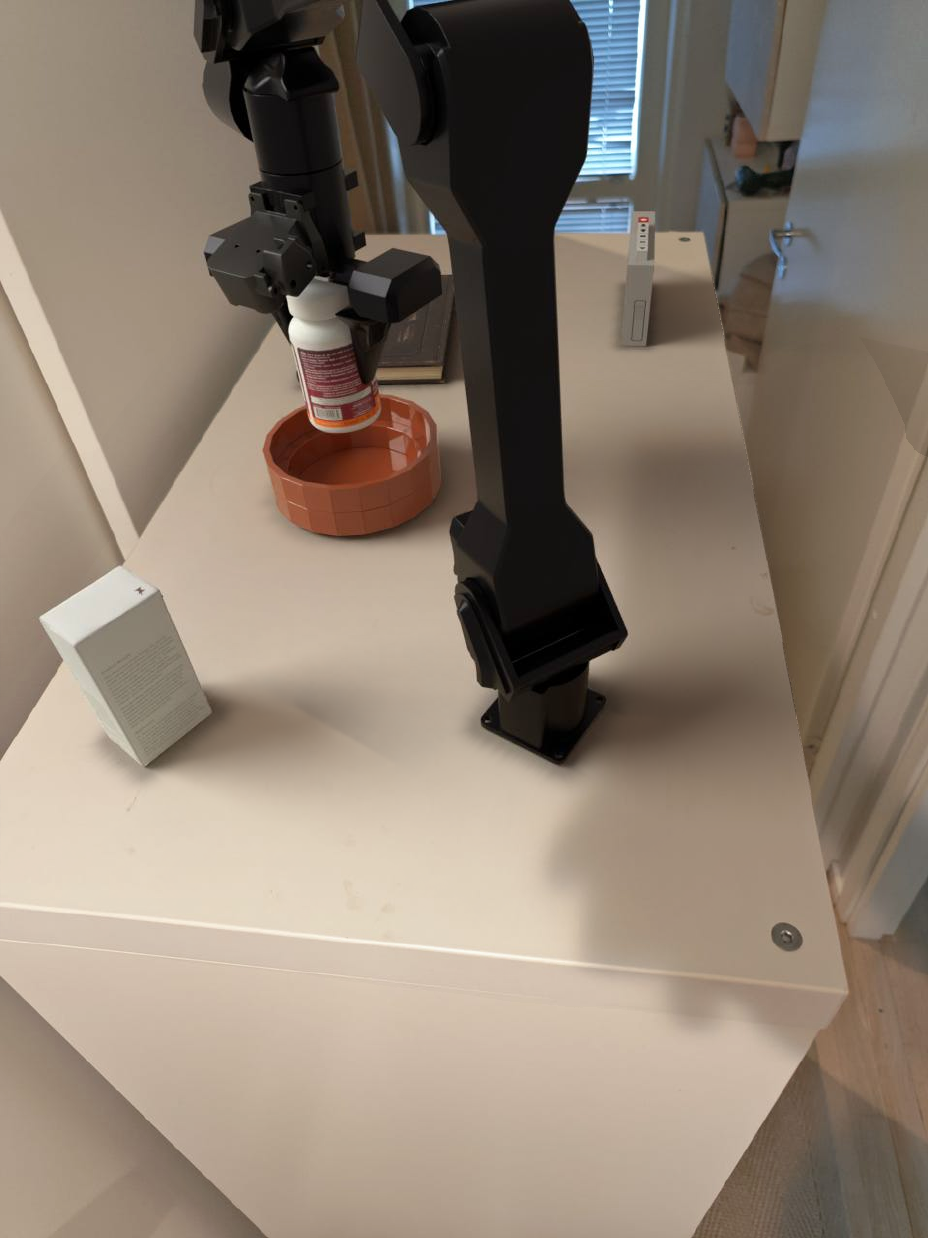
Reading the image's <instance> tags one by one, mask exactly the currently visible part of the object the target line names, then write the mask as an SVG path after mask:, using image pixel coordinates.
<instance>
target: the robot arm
mask: <svg viewBox="0 0 928 1238" xmlns="http://www.w3.org/2000/svg"><path fill="white" fill-rule="evenodd" d="M353 1H354V0H194V10H193V11H194V12H193V14H194V15H193V37H194V40H195V42H196V44H197V47H198V49H199V52H200V54H201V55H202V58H203V60H204V61H206V62H205V65H204V69H203V74H202V75H203V77H202V91H203V95H204V96H203V97H204V99H205V101H206V105H207V106H208V107H209V109H210V111H211V112H212V114H213V115H214V116H215V117H216V118H217V119H218V120H219V121H220V122H221V123H223V124H224V125H226V126H227V127H229V128H230V129H232V130H234V131H235V132H236V133H238V134H239V135H241V136H242V137H243V138H245V139H246V140H248V141H250V142H251V143H253V147H254V151H255V152H254V153H255V157H256V161H257V166H258V173H259V176H260V177H259V178H260V181H258V182H255V183H253V184H251V185H249V192H250V193H248V201H249V206H250V207H249V208H250V216H248V217H246V218H244V219H242V220H240V221H237V222H234V223H233V224H231V225H229V226H226V227H224V228H222V229H220V230H218V231H216V232H214V233H211V234H209V235H208V238H207V240H206V244H205V247H204V249H203V255H204V258H205V259H204V260H205V262H206V263H205V264H206V266H207V267H206V268H207V270H208V274H209V276H210V277H213V278H214V281H215V282H216V283H217V285H218V286H219V288H220V290H221V291H222V293H223V295H224V296H225V298H226V299H227V301H228V303H229V304H230V305H232V306H235V307H239V306H241V307H245V308H248V309H252V310H254V311H255V312H257V313H259V314H263V315H269V314H271V315H272V317H273V319H274V320H275V322H276V323H277V325H278V327H279V328H280V330H281V332H282V333H283V335H284V337H285V338H286V340H287V342H288V344H289V346H290V348H292V346H291V342H290V337H289V324H290V322H291V320H292V318H293V317H294V316H293V315H291V313H290V312H289V308H288V302H287V297H286V296H287V295H288V296H292V297H298V296H299V295H300V294H301V293H302V292H303V291H304V289H305V288H306V287H307V286H308V284H309V283H310V282H311V281H312V280H313V279H317V280H321V281H325V282H331V283H335V284H339V285H343V286H347V291H348V298H349V303H350V305H349V306H347V307H345V308H344V309H342V310H340V311H339V312H337V313H335V316H336V317H337V318H338V319H340V320H341V321H342V322H344V323H345V324H346V325H348V326H349V328H350V333H351V338H352V343H353V349H354V354H355V359H356V364H357V369H358V373H359V376H360V379H361V382H362V384H365V385H367V384H369V383H370V382H371V381H373V379H374V377H375V374H376V371H377V368H378V365H379V362H380V359H381V356H382V353H383V350H384V347H385V344H386V341H387V338H388V335H389V332H390V329H391V327H392V324H393V323H399V322H401V321H403V320H404V319H406V318H407V317H409V316H410V315H412V314H413V313H415V312H416V311H418V310H419V309H421V308H422V307H424V306H425V305H427V304H428V303H430V302H431V301H433V300H434V299H436V298H437V297H439V296H441V295H442V281H441V275H442V271H441V267H440V264H439V263H438V262H437V261H436V260H435V259H434V258H433V257H432V256H431V255H427V254H423V253H418V252H415V251H409V250H406V249H405V250H404V249H400V248H396V247H391V248H390V249H388V250H386V251H384V252H382V253H381V254H379V255H377V256H375V257H374V258H371V259H370V260H367V261H366V260H361V259H357V258H356V252H357V251H359V250H361V249H363V248H365V247H367V241H366V240H367V238H366V231H364V230H359V229H357V228H353V222H352V215H351V209H350V208H351V207H350V201H349V195H348V194H349V193H348V192H349V191H351V190H354V189H356V188H357V187H359V186H360V185H359V178H358V170H356V169H350V168H346V167H345V166H344V159H343V152H342V145H341V138H340V131H339V123H338V117H337V116H338V115H337V110H336V104H335V93H338V92H339V91H340V86H341V85H340V81H339V79H338V77H337V75H336V74H335V73H336V72H335V71H334V70H333V69H332V68H331V67H329V66H328V65H327V64H326V63H325V61H323V60H322V58H321V57H320V55H319V53H318V51H317V49H316V46H322V45H323V44H324V42H325V40H326V37H327V36H328V35H330V33H331V32H333V30H334V29H335V28H337V26H338V25H339V24H341V22H342V21H343V20H344V18H345V16H346V13H345V8H344V5H345V4H347V3H350V2H353ZM359 1H360V13H359V22H358V29H357V30H358V31H357V40H356V49H355V57H354V58H355V63H356V67H357V68H358V70H359V72H360V74H361V75H362V77H363V79H364V81H365V83H366V84H367V86H368V89H369V90H370V92H371V94H372V96H373V98H374V100H375V102H376V103H377V105H378V107H379V109H380V110H381V112H382V115H383V116H384V117H385V120H386V122H387V123H388V126H389V127H390V129H391V130H392V132H393V134H394V135H395V136H396V140H397V145H398V150H399V154H400V159H401V163H402V169H403V173H404V176H405V179H406V180H407V183H409V185H410V186H411V188H412V189H413V190H414V192H415V193H416V194H417V195H418V197H419V198H420V199H421V201H422V202H423V204H424V205H425V206H426V207H427V209H428V211H429V212H430V213H431V214H432V216H433V217H434V218H435V220H436V221H437V222H438V224H439V225H440V226H441V228H442V229H443V230H444V232H445V234H446V237H447V243H448V250H449V259H450V269H451V275H452V277H453V286H454V295H455V304H456V307H455V312H456V319H457V328H458V336H459V346H460V356H461V365H462V372H463V383H464V390H465V399H466V407H467V408H466V409H467V417H468V425H469V433H470V441H471V443H470V445H471V451H472V461H473V468H474V470H473V471H474V478H475V486H476V502H475V504H474V505H473V506H474V507H473V508H472V509H470V510H468V511H465V512H463V513H460V514H458V515H455V516H453V517H452V518H451V521H450V526H449V529H448V535H449V539H450V542H451V548H452V552H453V562H454V563H453V574H454V575H455V576H456V580H457V583H456V584H455V586H454V595H453V599H454V603H455V608H456V615H457V618H458V620H459V623H460V626H461V631H462V635H463V638H464V643H465V646H466V650H467V652H468V654H469V656H470V658H471V659H472V660H473V662H474V665H475V674H476V683H478V684H479V686H480V687H481V688H483V689H485V688H486V689H492V690H493V691H497V697H496V698H495V700H493V702H492V703H491V705H490V706H489V707H488V708H487V709H486V710H485V712H484V713H483V714H482V715H481V717H480V726H481V728H482V729H484V730H486V731H489V732H491V733H492V734H494V735H497V737H500V738H502V739H504V740H506V741H509V742H510V743H512V744H514V745H517V746H518V747H520V748H522V749H524V750H526V751H528V752H530V753H532V754H534V755H536V756H538V757H540V758H542V759H544V760H546V761H548V762H550V763H552V764H554V765H557V766H562V765H564V764H565V763H566V762H567V760H568V759H569V758H570V757H571V755H572V754H573V752H574V751H575V750H576V748H577V746H578V745H579V744H580V742H581V741H582V740H583V738H584V737H585V735H586V734H587V733H588V731H589V730H590V729H591V727H592V726H593V724H594V723H595V721H596V720H597V719H598V718H599V716H600V715H601V713H602V712H603V710H604V709H605V707H606V705H607V697H606V696H605V695H604V694H603V693H600V692H598V691H595V690H593V689H591V688H589V678H590V677H589V676H590V665H591V664H590V663H591V661H593V660H595V659H597V658H599V657H601V656H603V655H605V654H607V653H610V652H611V651H612V652H614V651H617V650H619V649H620V648H621V647H622V646H623V644H624V642H625V641H626V639H627V638H628V636H629V631H628V629H627V626H626V623H625V622H624V620H623V617H622V614H621V612H620V610H619V607H618V605H617V602H616V600H615V598H614V595H613V594H612V591H611V588H610V586H609V584H608V581H607V579H606V576H605V574H604V571H603V570H602V567H601V565H600V563H599V560H598V558H597V556H596V555H597V554H596V546H595V540H594V539H595V538H594V535H593V532H592V531H591V530H590V529H589V528H588V527H587V525H586V524H585V523H584V522H583V521H582V519H581V518H580V517H579V516H578V514H577V513H576V512H575V511H574V510H573V508H572V507H571V506H570V505H569V504H568V502H567V501H566V493H565V473H564V469H565V468H564V449H563V447H564V446H563V423H562V422H563V421H562V419H563V418H562V396H561V372H560V368H561V367H560V345H559V321H558V297H557V295H558V293H557V270H556V269H557V268H556V247H555V245H556V244H555V235H556V226H557V224H558V221H559V219H560V217H561V215H562V213H563V210H564V208H565V206H566V204H567V202H568V200H569V197H570V195H571V193H572V191H573V188H574V186H575V185H576V182H577V181H578V178H579V175H580V173H581V171H582V169H583V167H584V165H585V164H586V163H585V162H586V160H587V157H588V149H589V138H590V124H591V112H592V100H593V87H594V73H595V56H594V50H593V45H592V39H591V36H590V33H589V28H588V26H587V23H585V22H584V21H583V19H582V18H581V16H580V15H579V13H578V11H577V10H576V9H575V7H574V5H573V3H572V1H571V0H445V1H439V2H432V3H426V4H420V5H416V6H414V7H411V8H410V9H407V10H406V11H405V13H404V15H403V16H402V18H401V20H399V18H398V15H396V12H395V11H394V9H393V7H392V5H391V3H390V2H389V0H359ZM487 721H489V722H487ZM558 756H560V757H558Z"/></svg>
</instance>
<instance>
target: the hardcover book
mask: <svg viewBox="0 0 928 1238" xmlns="http://www.w3.org/2000/svg"><path fill="white" fill-rule="evenodd" d="M441 281H442V295H441V296H439V297H437V298H436V299H434V300H433V301H431V302H430V303H428V304H427V305H425V306H424V307H422V308H421V309H419V310H418V311H416V312H415V313H413V314H412V315H410V316H409V317H407V318H406V319H404V320H403V321H401V322H399V323H393V324H392V327H391V329H390V332H389V335H388V338H387V341H386V344H385V347H384V350H383V353H382V356H381V359H380V362H379V365H378V368H377V371H376V376H377V383H378V386H379V385H417V384H419V385H421V384H445V382H446V375H447V368H448V362H449V354H450V347H451V341H452V334H453V325H454V320H455V312H456V304H455V295H454V286H453V277H452V274H441ZM295 373H296V379H297V382H298V383H299V384H300V380H299V375H298V371H297V370H296V371H295Z"/></svg>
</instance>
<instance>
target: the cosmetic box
mask: <svg viewBox="0 0 928 1238" xmlns="http://www.w3.org/2000/svg"><path fill="white" fill-rule="evenodd" d="M38 620H39V621H40V624H41V625H42V627H43V628H44V630H45V632H46V633H47V635H48V637H49V639H50V640H51V642H52V644H53V646H54V647H55V649H56V650H57V652H58V653H59V656H60V657H61V659H62V660H63V662H64V663H65V664H66V667H67V668H68V670H69V672H70V674H71V675H72V677H73V679H74V680H75V682H76V684H77V685H78V687H79V689H80V691H81V693H82V694H83V696H84V697H85V699H86V701H87V702H88V704H89V706H90V707H91V709H92V710H93V712H94V714H95V716H96V717H97V720H98V721H99V722H100V724H101V726H102V728H103V729H104V731H105V733H106V735H107V736H108V738H109V739H110V740H111V741H112V742H113V743H115V744H116V745H117V746H118V747H120V749H121V750H123V751H124V752H125V753H126V754H127V755H128V756H130V757H131V758H132V759H133V760H134V761H136V763H138V764H139V765H140V766H141V767H144V768H145V767H146V766H148V765H149V764H150V763H152V762H153V761H155V759H156V758H158V757H159V756H160V755H161V754H163V753H164V752H165V751H166V750H168V749H169V748H170V747H171V746H173V745H174V744H175V743H176V742H178V741H179V740H181V738H182V737H184V736H185V735H186V734H188V733H189V732H190V731H192V730H193V729H194V728H195V727H196V726H198V725H199V724H200V723H202V722H203V721H204V720H206V719H207V718H208V717H209V716H210V715H212V713H213V711H212V707H211V705H210V703H209V701H208V698H207V696H206V694H205V691H204V689H203V686H202V684H201V682H200V680H199V678H198V675H197V674H196V671H195V669H194V666H193V663H192V661H191V659H190V657H189V654H188V652H187V650H186V648H185V646H184V643H183V641H182V638H181V636H180V634H179V631H178V629H177V626H176V624H175V623H174V620H173V618H172V615H171V613H170V611H169V609H168V607H167V604H166V602H165V599H164V597H163V595H162V591H161V590H160V589H159V588H157V587H156V586H154V585H152V584H151V583H150V582H147V581H146V580H144V579H143V578H141V577H140V576H138V575H136V574H135V573H133V571H130V570H129V569H127V568H125V567H124V566H122V565H118V566H117V567H114V568H113V569H112V570H110V571H109V572H108V573H106V574H104V575H103V576H102V577H100V578H98V579H97V580H95V581H94V582H92V583H90V584H89V585H88V586H86V587H84V588H83V589H81V590H80V591H78V592H76V593H75V594H73V595H72V596H70V597H68V598H66V599H65V600H64V601H63V602H61V603H59V604H58V605H56V606H54V607H53V608H51V609H50V610H48V611H47V612H45V613H44V614H42V615H40V616H39V619H38Z"/></svg>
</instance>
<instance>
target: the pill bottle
mask: <svg viewBox="0 0 928 1238" xmlns="http://www.w3.org/2000/svg"><path fill="white" fill-rule="evenodd" d="M286 297H287V302H288V308H289V312H290V313H291V315H293V316H294V317H293V318H292V320H291V322H290V324H289V337H290V342H291V346H292V347H291V346H290V347H291V350H292V354H293V360H294V363H295V367H296V371H298V375H299V380H300V383H299V385H300V388H301V392H302V397H303V400H304V406H305V405H306V409H307V413H308V417H309V420H310V422H311V423H312V425H313V426H315V427H316V428H317V429H319V430H321V431H324V432H328V433H347V432H352V431H356V430H360V429H362V428H365V427H367V426H369V425H370V424H372V423H373V422H374V421H375V420H376V419H377V418H378V416H379V414H380V411H381V402H380V395H379V394H380V390H379V385H378V383H377V376H376V374H375V377H374V379H373V381H371V382H370V383H369V384H367V385H365V384H362V382H361V379H360V376H359V373H358V369H357V364H356V359H355V354H354V349H353V343H352V338H351V333H350V328H349V326H348V325H346V324H345V323H344V322H342V321H341V320H340V319H338V318H337V317H336V316H335V313H337V312H339V311H340V310H342V309H344V308H345V307H347V306H349V305H350V303H349V298H348V291H347V286H343V285H339V284H335V283H331V282H325V281H321V280H317V279H313V280H312V281H311V282H310V283H309V284H308V286H307V287H306V288H305V289H304V291H303V292H302V293H301V294H300V295H299V296H298V297H292V296H288V295H287V296H286Z"/></svg>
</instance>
